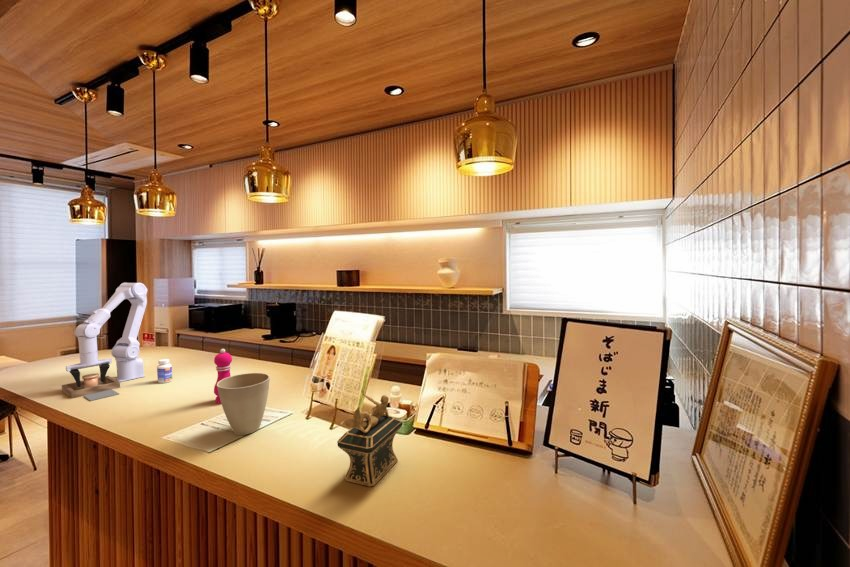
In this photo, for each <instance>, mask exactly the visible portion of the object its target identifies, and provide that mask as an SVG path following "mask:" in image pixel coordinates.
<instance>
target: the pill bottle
mask: <svg viewBox="0 0 850 567" xmlns="http://www.w3.org/2000/svg"><path fill="white" fill-rule="evenodd" d="M172 367H173V366H172V364H171V363H170V359H169V358H163V359H159V360H158V365H157V366H156V373H157V383H159V384H165V383H170V382H172V381H173V368H172Z"/></svg>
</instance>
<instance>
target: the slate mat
mask: <svg viewBox="0 0 850 567" xmlns="http://www.w3.org/2000/svg"><path fill="white" fill-rule="evenodd" d="M118 395H120V393H119V392H118V391H116V390H114V389H111V390H106V391H102V392H97V393H93V394H89V395H84V396H83V397H84V399H86V400H88V401H89V402H93V401H97V400H101V399H105V398H109V397H114V396H118Z"/></svg>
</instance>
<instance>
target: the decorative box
mask: <svg viewBox="0 0 850 567" xmlns="http://www.w3.org/2000/svg"><path fill="white" fill-rule="evenodd" d="M360 393H362V396H364V397H365V399H366V400H368V401H370V402H371V403H373V404H374V405H375V406H373V407H372V412H371V414H370V413H369V412H367V411H360V406H358V407H357V408H356V409H355V410H354V412H353V415H352V418H353V419H352V418H350V417H349V418H347V419H345V420H343V421H341V422H340V426H343V427H344V426H345V427H347V428H349V429H348V430H347V431H345V433H344V434H342V436H341V437H339V439H338V440H337V441H336V442H337V447H338V448H340V450H342V451H343V452H345V453H346V454H347V455H348V457H349V466H348V469H347V472H346V474H345V477H344V479H345V481H346V482H350V483H354V484H358V485H362V486H366V487H369V488H370V487H373V486H376V485H377V483H378V482H380V480H381V479H383V477H384V476H385V475H386V474H387V473H388V472H389V471H390V470H391V468H393V467H394V466H395V465H396V463H397V462H398V461H399V460H398V457H397V455H396V454H395V451H394V448H393V443H394V439H395V437H396V434H397V433H398V432H399V431H400V429H401V428H402V426H403V421H402V420H401V419H399V418H397V417H395V416H392V415H389V411H388V409H387V407H388V403H389V401H390V400H389V396H387V395H385V394H383V395H381V397H380V403H379V402H378V401H376V400H374V399H373V398H372V397H370V396H368V395H366V394H365V390H364V389H362V388H361V391H360Z"/></svg>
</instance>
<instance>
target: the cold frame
mask: <svg viewBox="0 0 850 567" xmlns="http://www.w3.org/2000/svg"><path fill="white" fill-rule="evenodd" d="M80 383H81V387H77V384H76V381H74V382H70V383H66V384H62V385H61V391H62V392H63V393H64V394H65V395H67V396H68V397H69V398H71V399H75V398H79V397H84V395H89V394H93V393H97V392H102V391H106V390H111V389H112V390H114V389H115V390H116V389H118V388H121V382H119V381H117V380H115V379H114V377H111V376H109V375H106V376H105V380H104V382H101V379H100V376H98V386H94V387H90V388H85V389H84V380H80Z"/></svg>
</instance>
